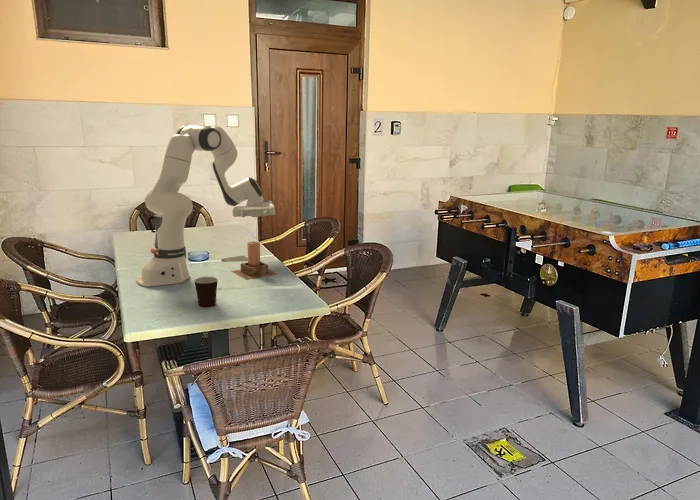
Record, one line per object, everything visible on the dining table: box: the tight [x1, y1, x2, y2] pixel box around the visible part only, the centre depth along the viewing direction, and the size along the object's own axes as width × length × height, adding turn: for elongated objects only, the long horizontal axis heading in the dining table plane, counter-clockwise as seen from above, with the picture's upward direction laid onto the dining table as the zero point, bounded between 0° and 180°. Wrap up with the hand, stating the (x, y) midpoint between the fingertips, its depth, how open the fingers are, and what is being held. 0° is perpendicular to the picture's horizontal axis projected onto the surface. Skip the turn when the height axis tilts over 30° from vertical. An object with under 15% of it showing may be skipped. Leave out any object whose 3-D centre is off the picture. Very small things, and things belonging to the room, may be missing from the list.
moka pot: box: [147, 214, 163, 248], centre depth 288 cm, size 10×15×20 cm, turn 148°
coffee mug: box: [194, 276, 218, 309], centre depth 204 cm, size 12×9×10 cm
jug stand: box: [230, 260, 278, 281], centre depth 242 cm, size 16×16×5 cm
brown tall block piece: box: [246, 241, 261, 267], centre depth 239 cm, size 8×6×14 cm
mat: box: [221, 255, 248, 263], centre depth 265 cm, size 12×12×1 cm
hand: (253, 215), depth 247 cm, fingers open, 8 cm apart
